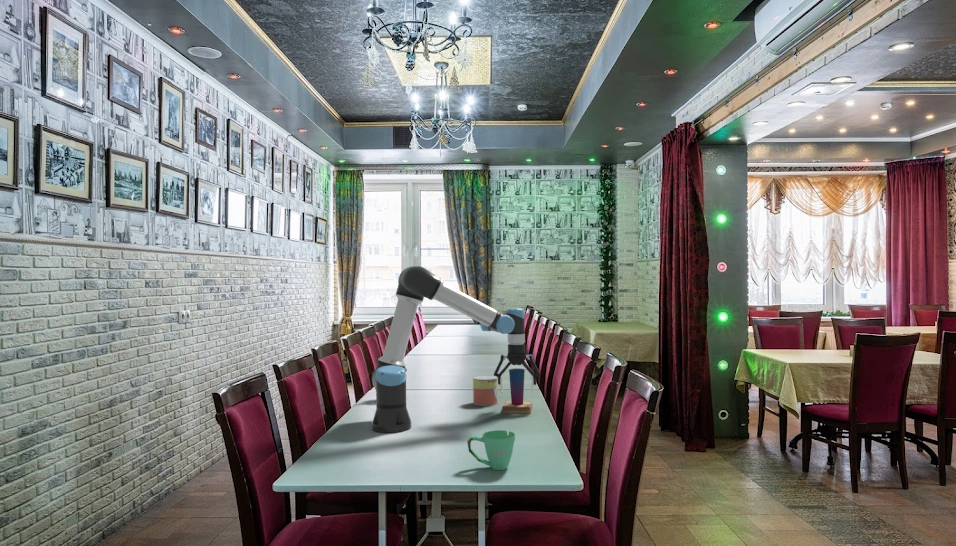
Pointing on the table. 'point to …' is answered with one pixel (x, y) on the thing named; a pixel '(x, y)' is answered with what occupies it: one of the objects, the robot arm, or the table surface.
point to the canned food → (485, 390)
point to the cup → (517, 385)
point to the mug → (495, 448)
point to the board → (517, 407)
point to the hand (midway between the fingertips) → (517, 392)
